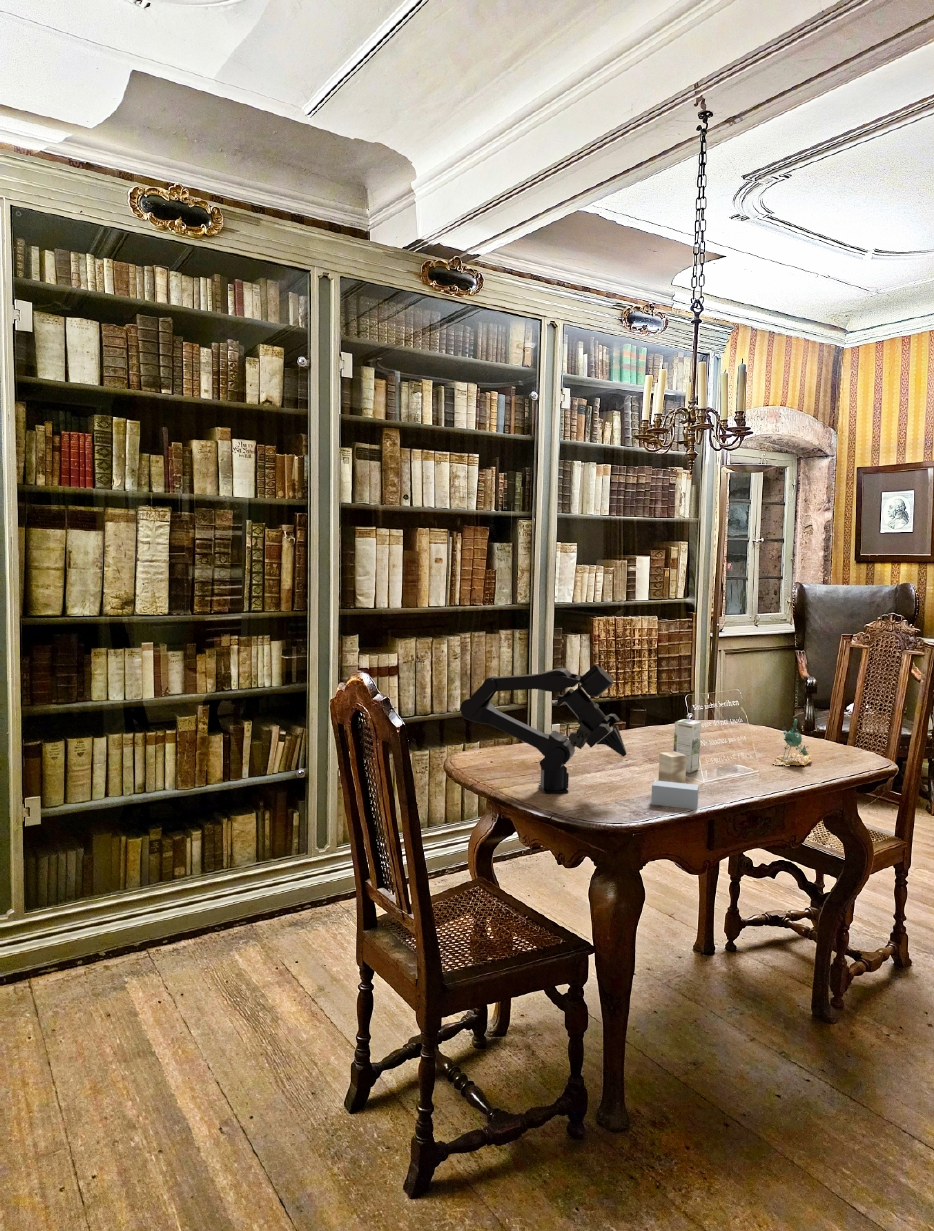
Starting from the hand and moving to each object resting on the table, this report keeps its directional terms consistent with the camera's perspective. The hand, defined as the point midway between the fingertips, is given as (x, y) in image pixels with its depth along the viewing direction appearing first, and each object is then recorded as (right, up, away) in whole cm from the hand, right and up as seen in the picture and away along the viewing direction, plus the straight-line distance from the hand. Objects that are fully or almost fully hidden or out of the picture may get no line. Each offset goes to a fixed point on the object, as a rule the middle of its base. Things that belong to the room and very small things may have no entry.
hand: (625, 755), depth 207 cm
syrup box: (+24, -10, +30) cm, 39 cm away
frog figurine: (+60, -10, +41) cm, 74 cm away
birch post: (+15, -11, +12) cm, 22 cm away
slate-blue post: (+7, -9, -2) cm, 11 cm away
